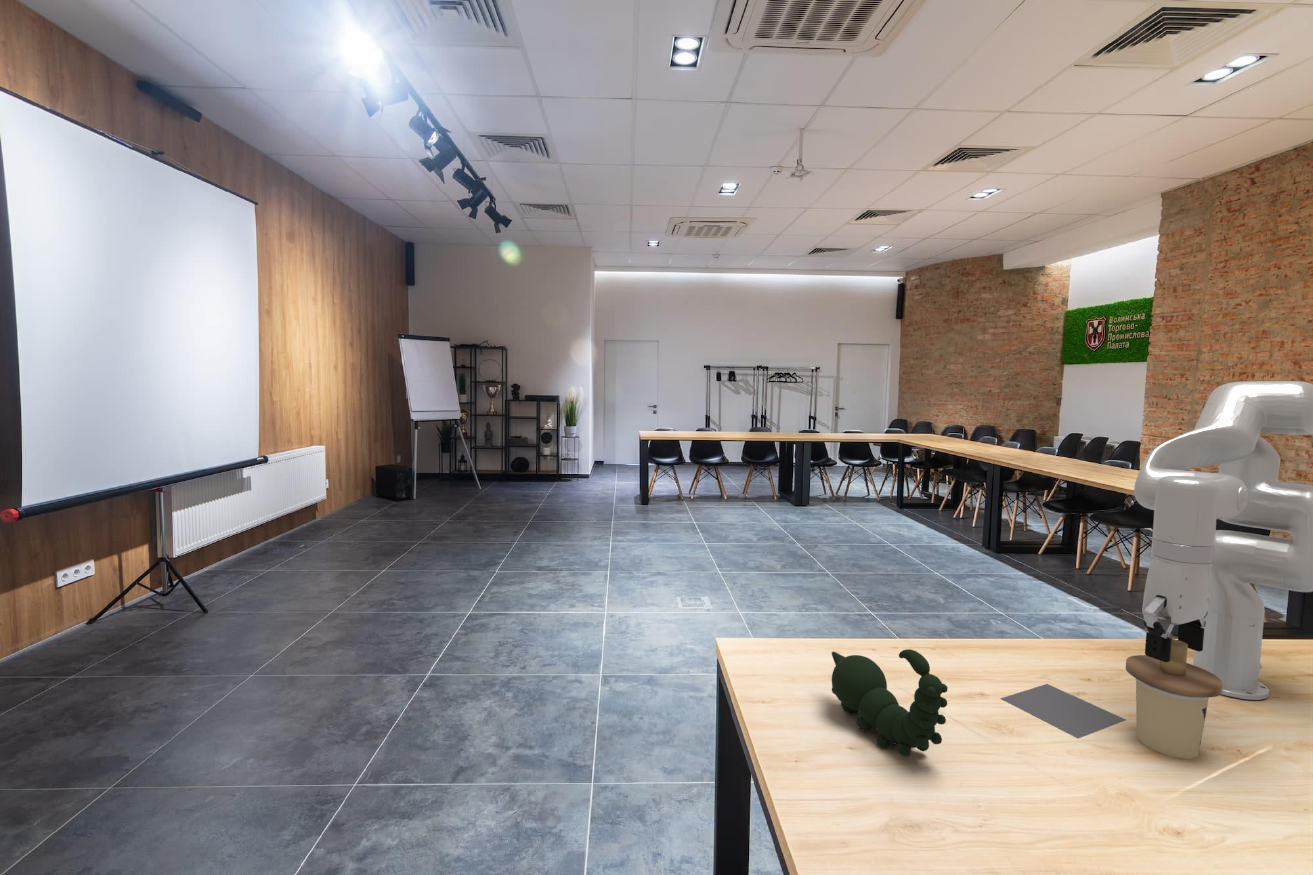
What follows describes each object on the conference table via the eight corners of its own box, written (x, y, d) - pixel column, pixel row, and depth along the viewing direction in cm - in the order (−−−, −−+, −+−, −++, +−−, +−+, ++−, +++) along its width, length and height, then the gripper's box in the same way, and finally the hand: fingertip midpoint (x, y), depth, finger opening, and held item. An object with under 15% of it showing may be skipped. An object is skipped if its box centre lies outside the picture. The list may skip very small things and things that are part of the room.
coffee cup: (1220, 768, 92) (1226, 695, 91) (1152, 761, 94) (1157, 689, 93) (1180, 734, 101) (1185, 668, 100) (1118, 728, 103) (1123, 662, 102)
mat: (1046, 686, 117) (1047, 683, 117) (1126, 722, 105) (1126, 719, 105) (1000, 701, 112) (1000, 698, 112) (1077, 741, 99) (1077, 738, 99)
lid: (1149, 656, 104) (1152, 623, 104) (1237, 687, 94) (1241, 650, 93) (1110, 669, 100) (1112, 634, 99) (1197, 704, 89) (1201, 664, 88)
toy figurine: (951, 773, 93) (848, 686, 116) (966, 665, 90) (856, 597, 113) (906, 788, 90) (808, 695, 113) (919, 675, 87) (816, 603, 110)
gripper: (1182, 541, 102) (1175, 635, 103) (1124, 551, 95) (1117, 653, 96) (1238, 552, 95) (1230, 653, 96) (1180, 564, 88) (1172, 673, 89)
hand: (1173, 653), depth 96 cm, fingers open, 9 cm apart
